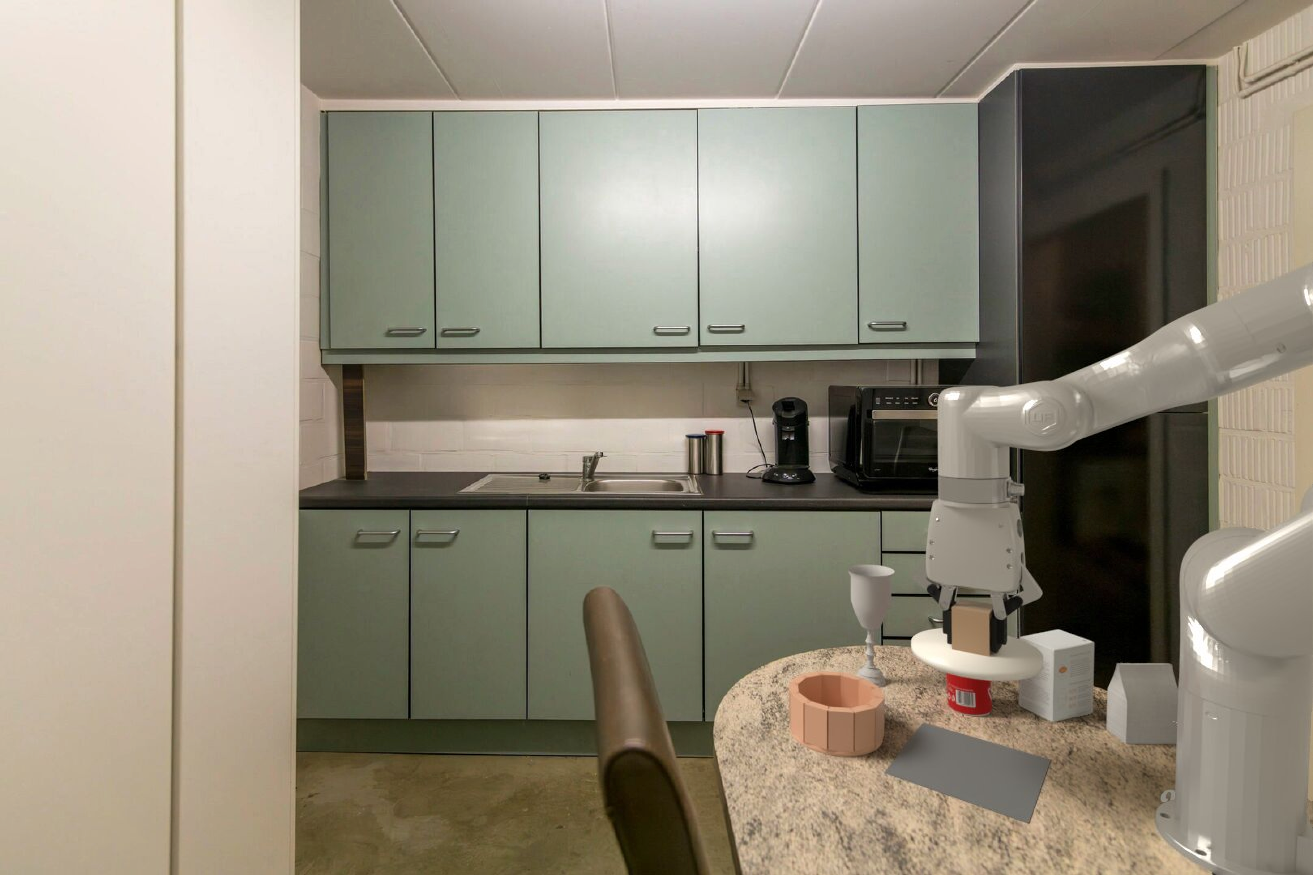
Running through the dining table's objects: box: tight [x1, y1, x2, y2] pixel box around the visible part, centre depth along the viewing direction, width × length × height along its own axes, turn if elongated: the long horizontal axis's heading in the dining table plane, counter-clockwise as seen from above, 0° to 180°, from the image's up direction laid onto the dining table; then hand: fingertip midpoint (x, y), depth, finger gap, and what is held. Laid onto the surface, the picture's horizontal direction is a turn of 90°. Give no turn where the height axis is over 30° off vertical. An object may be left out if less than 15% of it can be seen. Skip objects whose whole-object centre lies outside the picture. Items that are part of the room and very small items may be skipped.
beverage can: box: [945, 672, 993, 717], centre depth 92 cm, size 6×6×15 cm
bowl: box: [788, 670, 885, 758], centre depth 86 cm, size 12×12×6 cm
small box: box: [1018, 629, 1095, 723], centre depth 91 cm, size 8×6×10 cm
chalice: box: [847, 564, 895, 689], centre depth 101 cm, size 7×7×18 cm
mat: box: [884, 722, 1051, 824], centre depth 77 cm, size 15×15×1 cm
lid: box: [910, 599, 1043, 682], centre depth 76 cm, size 14×14×6 cm
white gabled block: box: [1106, 662, 1178, 745], centre depth 83 cm, size 4×7×10 cm, turn 88°
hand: (974, 643), depth 76 cm, fingers closed on lid, 4 cm apart
